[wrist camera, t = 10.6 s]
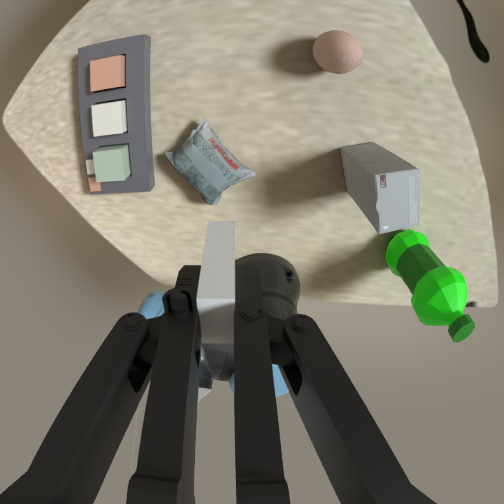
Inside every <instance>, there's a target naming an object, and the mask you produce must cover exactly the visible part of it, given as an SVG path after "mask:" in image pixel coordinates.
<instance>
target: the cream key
mask: <svg viewBox="0 0 504 504" xmlns="http://www.w3.org/2000/svg"><path fill="white" fill-rule="evenodd" d="M91 108H92V123H93V134H94V137H95V136H103V135H111V134H120V133H124V132H126V131H127V130H128V123H127V102H126V100H119V101H112V102H106V103H101V104H97V105H93V106H91Z"/></svg>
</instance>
